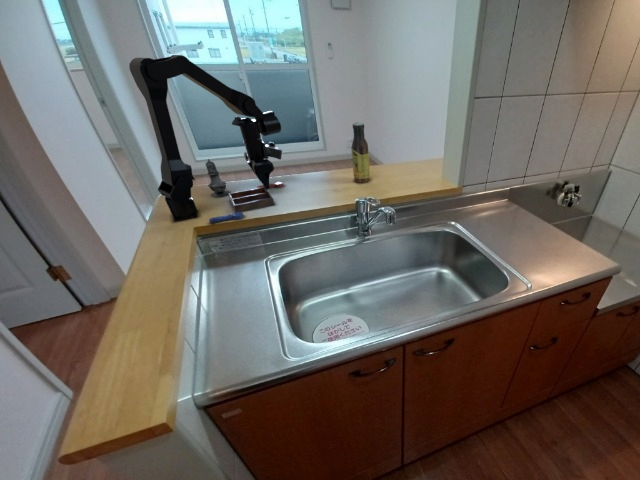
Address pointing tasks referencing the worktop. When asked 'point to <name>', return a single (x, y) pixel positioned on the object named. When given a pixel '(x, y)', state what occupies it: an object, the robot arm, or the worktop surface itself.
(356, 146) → the sauce bottle
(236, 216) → the blue flashlight
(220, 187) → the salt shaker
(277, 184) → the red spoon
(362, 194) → the worktop surface
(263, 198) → the tray
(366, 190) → the worktop surface
